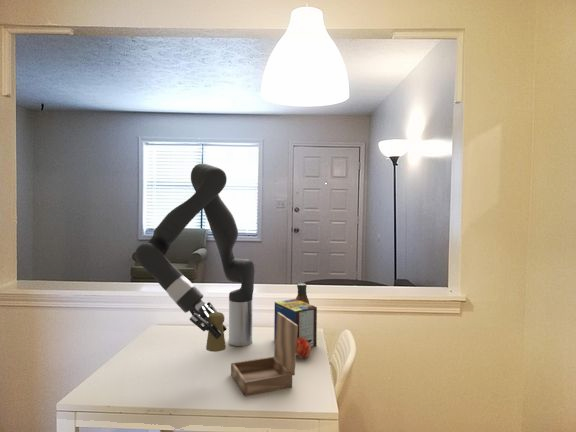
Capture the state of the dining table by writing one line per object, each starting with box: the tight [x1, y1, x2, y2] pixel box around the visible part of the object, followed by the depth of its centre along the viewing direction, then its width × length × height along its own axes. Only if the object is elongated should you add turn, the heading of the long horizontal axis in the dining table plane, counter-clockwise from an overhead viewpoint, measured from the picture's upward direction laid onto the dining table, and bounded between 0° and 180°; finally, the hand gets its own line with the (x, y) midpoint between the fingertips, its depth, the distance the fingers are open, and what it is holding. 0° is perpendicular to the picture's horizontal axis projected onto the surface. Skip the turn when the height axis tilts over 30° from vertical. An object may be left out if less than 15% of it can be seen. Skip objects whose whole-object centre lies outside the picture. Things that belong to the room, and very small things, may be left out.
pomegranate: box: [296, 337, 313, 359], centre depth 149 cm, size 7×7×10 cm
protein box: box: [273, 298, 318, 348], centre depth 163 cm, size 10×15×16 cm
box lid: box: [273, 312, 298, 377], centre depth 132 cm, size 15×16×1 cm
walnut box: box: [230, 356, 293, 397], centre depth 129 cm, size 15×15×4 cm
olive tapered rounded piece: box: [205, 311, 227, 353], centre depth 127 cm, size 6×6×11 cm
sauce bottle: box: [295, 283, 310, 304], centre depth 180 cm, size 6×6×20 cm
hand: (222, 333), depth 127 cm, fingers closed on olive tapered rounded piece, 4 cm apart
